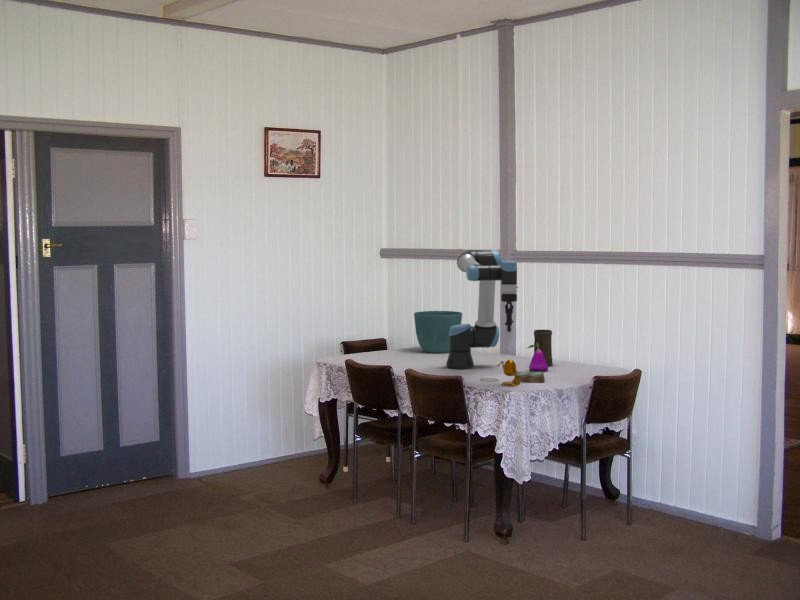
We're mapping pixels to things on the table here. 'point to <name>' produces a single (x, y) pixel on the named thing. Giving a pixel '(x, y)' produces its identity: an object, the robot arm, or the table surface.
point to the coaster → (488, 379)
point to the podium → (530, 377)
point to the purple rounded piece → (538, 361)
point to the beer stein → (544, 344)
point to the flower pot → (435, 329)
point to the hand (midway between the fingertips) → (509, 337)
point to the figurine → (510, 372)
